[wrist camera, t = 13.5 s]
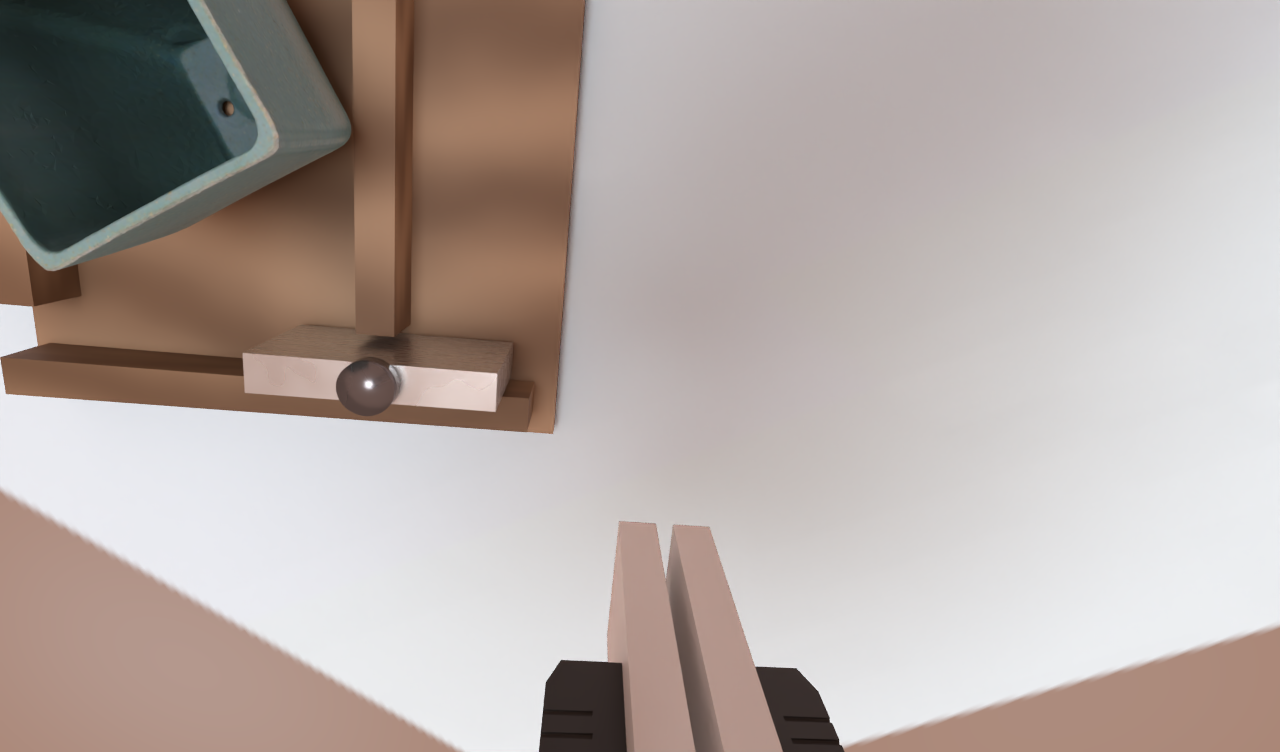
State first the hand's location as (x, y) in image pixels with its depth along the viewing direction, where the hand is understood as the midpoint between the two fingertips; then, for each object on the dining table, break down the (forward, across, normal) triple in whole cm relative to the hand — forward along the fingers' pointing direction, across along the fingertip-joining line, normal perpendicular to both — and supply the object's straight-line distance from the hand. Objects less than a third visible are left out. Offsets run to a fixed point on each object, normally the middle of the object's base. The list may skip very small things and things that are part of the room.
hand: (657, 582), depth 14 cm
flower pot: (+17, -15, +10) cm, 25 cm away
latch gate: (+17, -9, 0) cm, 19 cm away
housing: (+18, -14, +7) cm, 24 cm away
